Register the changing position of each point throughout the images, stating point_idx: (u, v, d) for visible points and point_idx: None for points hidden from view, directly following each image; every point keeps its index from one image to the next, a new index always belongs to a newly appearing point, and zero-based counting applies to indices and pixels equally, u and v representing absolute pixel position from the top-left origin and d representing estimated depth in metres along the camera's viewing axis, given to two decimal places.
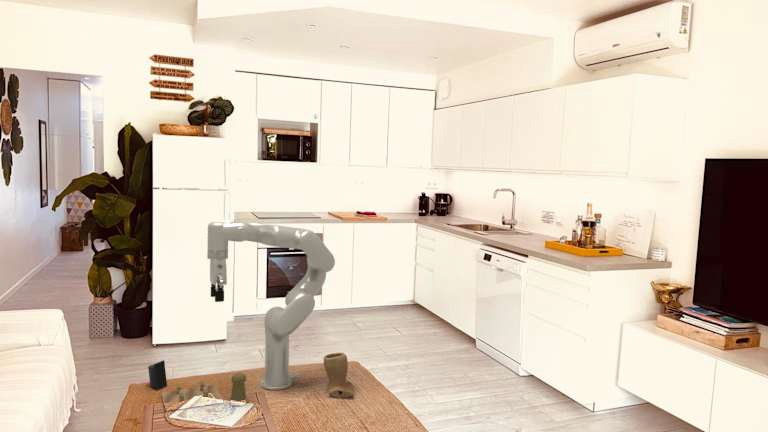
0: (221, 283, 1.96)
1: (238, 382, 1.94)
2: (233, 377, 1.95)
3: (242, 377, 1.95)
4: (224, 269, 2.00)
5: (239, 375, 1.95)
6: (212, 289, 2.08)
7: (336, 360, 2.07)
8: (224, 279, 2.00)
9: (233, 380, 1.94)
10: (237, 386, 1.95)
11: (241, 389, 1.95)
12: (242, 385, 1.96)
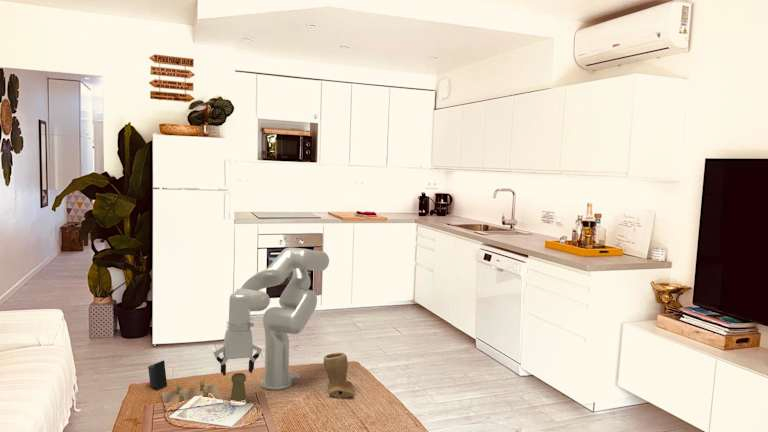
0: None
1: (238, 382, 1.94)
2: (233, 377, 1.95)
3: (242, 377, 1.95)
4: None
5: (239, 375, 1.95)
6: None
7: (336, 361, 2.07)
8: None
9: (233, 380, 1.94)
10: (237, 386, 1.95)
11: (241, 389, 1.95)
12: (242, 385, 1.96)
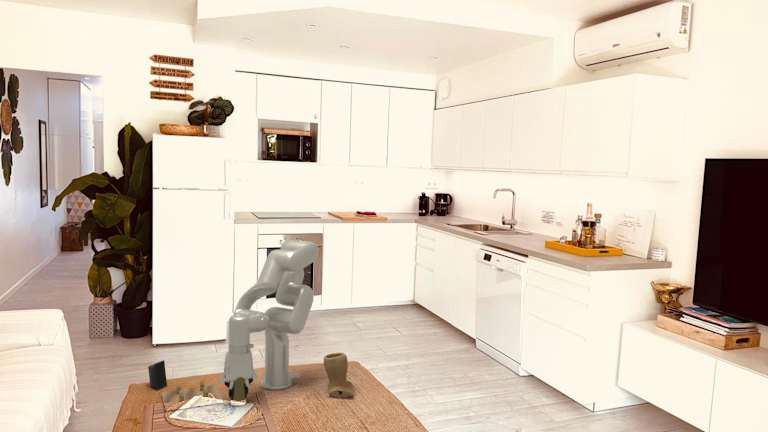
0: None
1: (238, 382, 1.94)
2: None
3: (242, 377, 1.95)
4: None
5: None
6: None
7: (336, 360, 2.07)
8: None
9: None
10: (237, 386, 1.95)
11: (241, 389, 1.95)
12: (242, 385, 1.96)
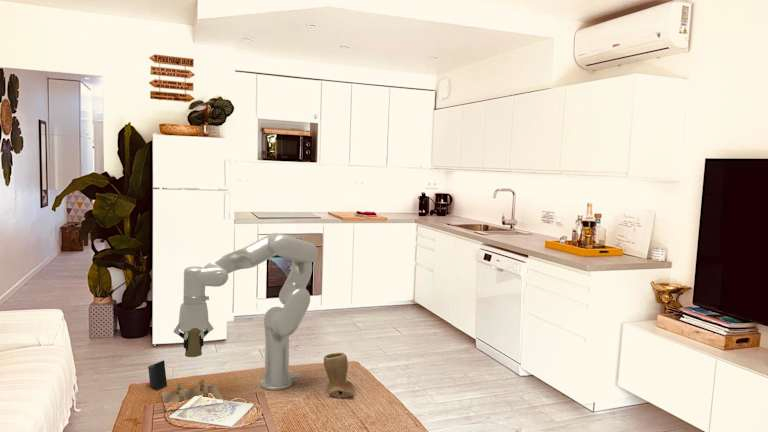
0: None
1: (193, 332, 1.95)
2: None
3: (197, 328, 1.96)
4: None
5: None
6: None
7: (336, 360, 2.07)
8: None
9: None
10: (192, 337, 1.96)
11: (196, 340, 1.96)
12: (197, 336, 1.97)
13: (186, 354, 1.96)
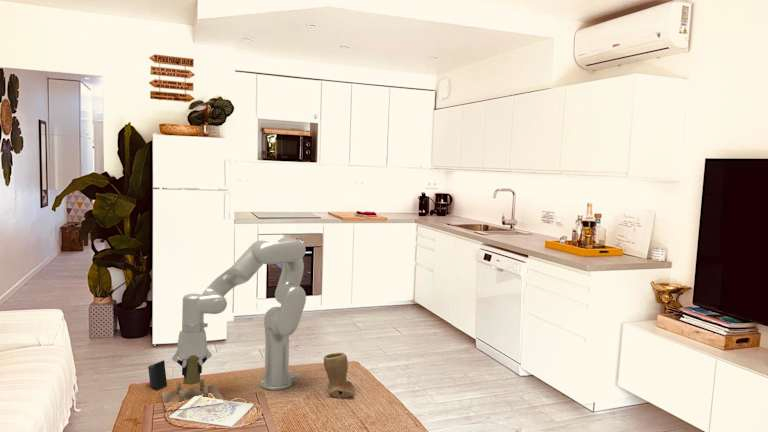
0: None
1: (191, 360, 1.96)
2: None
3: (195, 356, 1.97)
4: None
5: None
6: (186, 369, 1.97)
7: (336, 360, 2.07)
8: None
9: None
10: (190, 365, 1.96)
11: (194, 367, 1.97)
12: (195, 364, 1.97)
13: (184, 381, 1.96)
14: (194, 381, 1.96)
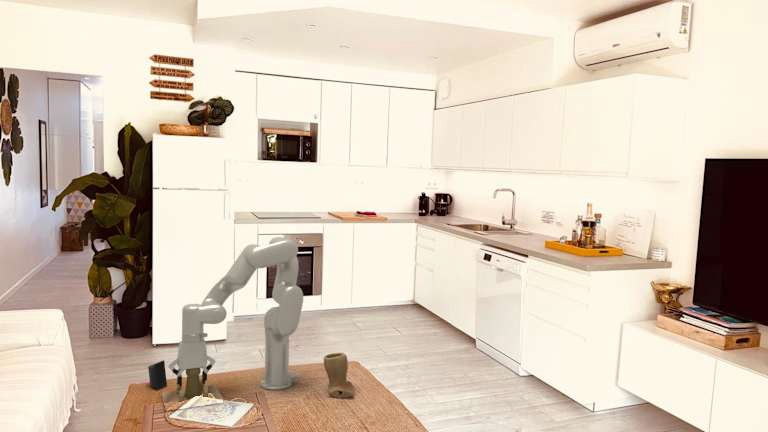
0: None
1: (192, 374, 1.96)
2: (187, 370, 1.97)
3: (196, 370, 1.97)
4: None
5: None
6: (181, 378, 1.96)
7: (336, 360, 2.07)
8: None
9: (187, 372, 1.97)
10: (191, 379, 1.97)
11: (195, 381, 1.97)
12: (196, 377, 1.98)
13: (186, 395, 1.97)
14: (195, 395, 1.97)
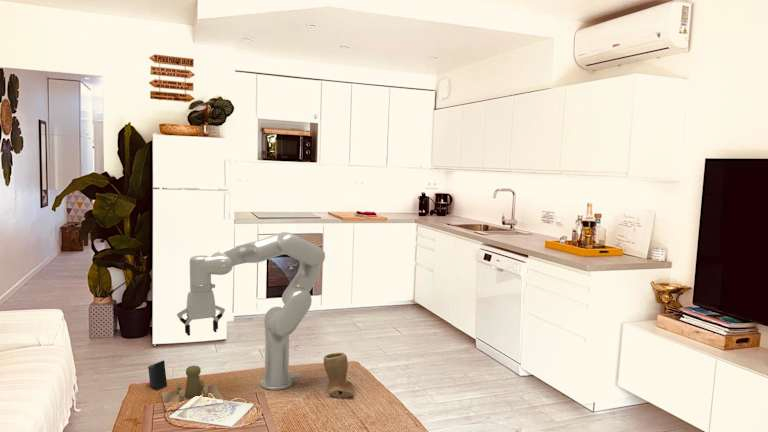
0: None
1: (192, 374, 1.96)
2: (187, 370, 1.97)
3: (196, 370, 1.97)
4: None
5: (193, 368, 1.98)
6: (189, 327, 1.99)
7: (336, 360, 2.07)
8: None
9: (187, 373, 1.97)
10: (191, 379, 1.97)
11: (195, 381, 1.97)
12: (196, 377, 1.98)
13: (186, 395, 1.97)
14: (195, 395, 1.97)
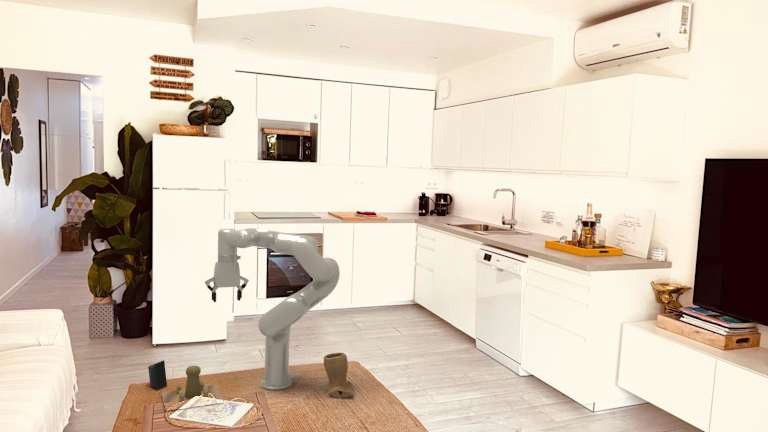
0: None
1: (192, 374, 1.96)
2: (187, 370, 1.97)
3: (196, 370, 1.97)
4: None
5: (193, 368, 1.98)
6: None
7: (336, 360, 2.07)
8: None
9: (187, 372, 1.97)
10: (191, 379, 1.97)
11: (195, 381, 1.97)
12: (196, 377, 1.98)
13: (186, 395, 1.97)
14: (195, 395, 1.97)
